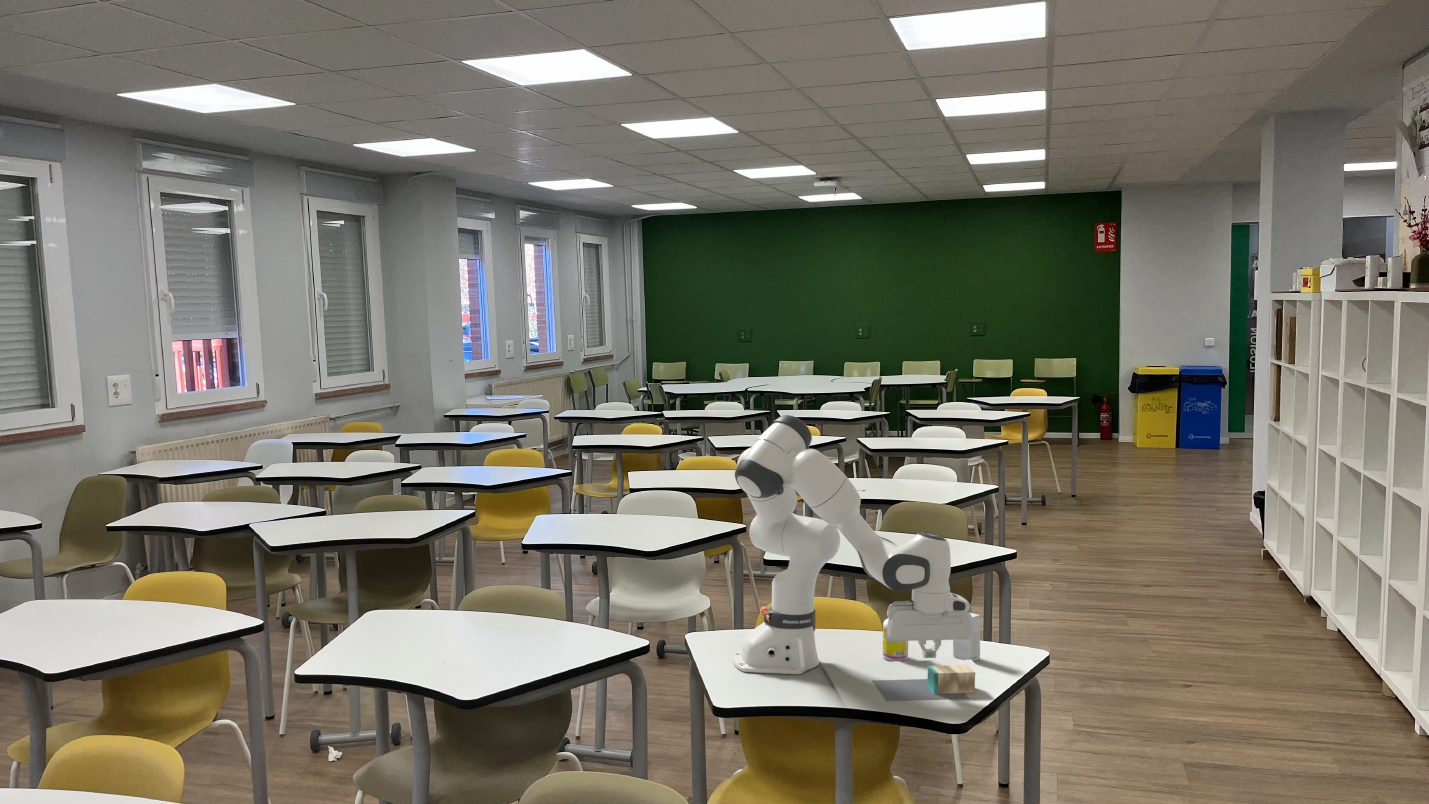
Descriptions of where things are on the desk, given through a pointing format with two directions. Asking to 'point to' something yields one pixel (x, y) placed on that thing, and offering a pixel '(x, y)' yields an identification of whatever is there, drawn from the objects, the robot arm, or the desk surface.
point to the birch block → (951, 679)
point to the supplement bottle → (893, 646)
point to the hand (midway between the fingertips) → (929, 657)
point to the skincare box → (969, 643)
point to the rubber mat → (911, 690)
